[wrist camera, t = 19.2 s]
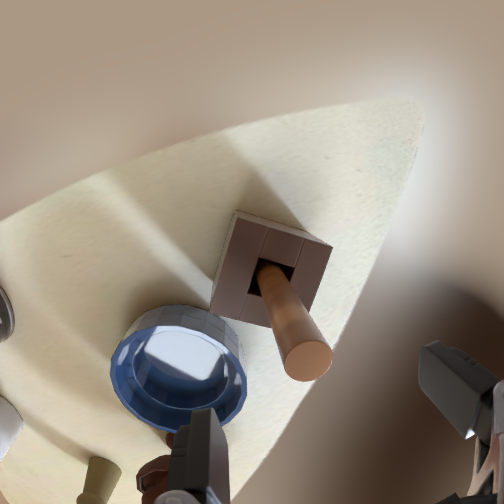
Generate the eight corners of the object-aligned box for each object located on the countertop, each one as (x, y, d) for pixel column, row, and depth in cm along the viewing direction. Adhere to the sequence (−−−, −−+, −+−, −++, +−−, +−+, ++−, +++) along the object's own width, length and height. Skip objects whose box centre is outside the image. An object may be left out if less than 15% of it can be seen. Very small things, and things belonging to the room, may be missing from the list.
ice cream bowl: (174, 468, 38) (165, 543, 23) (133, 425, 36) (108, 505, 21) (234, 454, 38) (239, 536, 23) (197, 407, 36) (189, 499, 21)
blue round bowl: (120, 384, 34) (107, 412, 28) (135, 286, 32) (117, 306, 26) (226, 412, 36) (226, 444, 30) (259, 321, 33) (265, 347, 28)
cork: (127, 472, 38) (115, 520, 27) (111, 480, 39) (97, 524, 28) (99, 453, 37) (80, 500, 26) (84, 462, 37) (66, 506, 27)
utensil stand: (213, 282, 32) (208, 312, 24) (234, 209, 31) (237, 217, 23) (284, 302, 33) (300, 335, 25) (308, 232, 32) (333, 247, 24)
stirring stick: (248, 265, 32) (277, 377, 13) (254, 245, 32) (294, 335, 12) (268, 270, 32) (321, 385, 13) (274, 251, 32) (340, 345, 12)
